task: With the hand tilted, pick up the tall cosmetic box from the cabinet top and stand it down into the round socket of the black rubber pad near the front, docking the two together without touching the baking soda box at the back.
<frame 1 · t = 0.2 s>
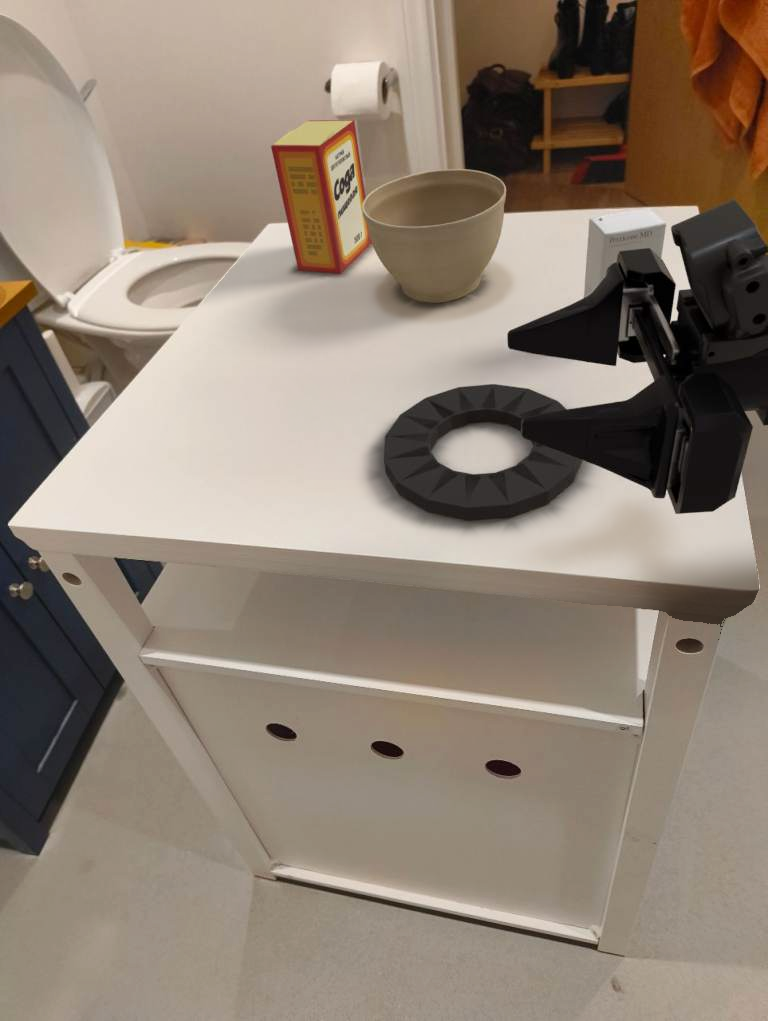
hand: (514, 380, 43), 17 cm above the cabinet top, tool horizontal, fingers open, 9 cm apart
planter bowl: (440, 287, 90), on the cabinet top
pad: (481, 453, 65), on the cabinet top
cosmetic box: (615, 335, 77), on the cabinet top
baking soda box: (336, 257, 100), on the cabinet top
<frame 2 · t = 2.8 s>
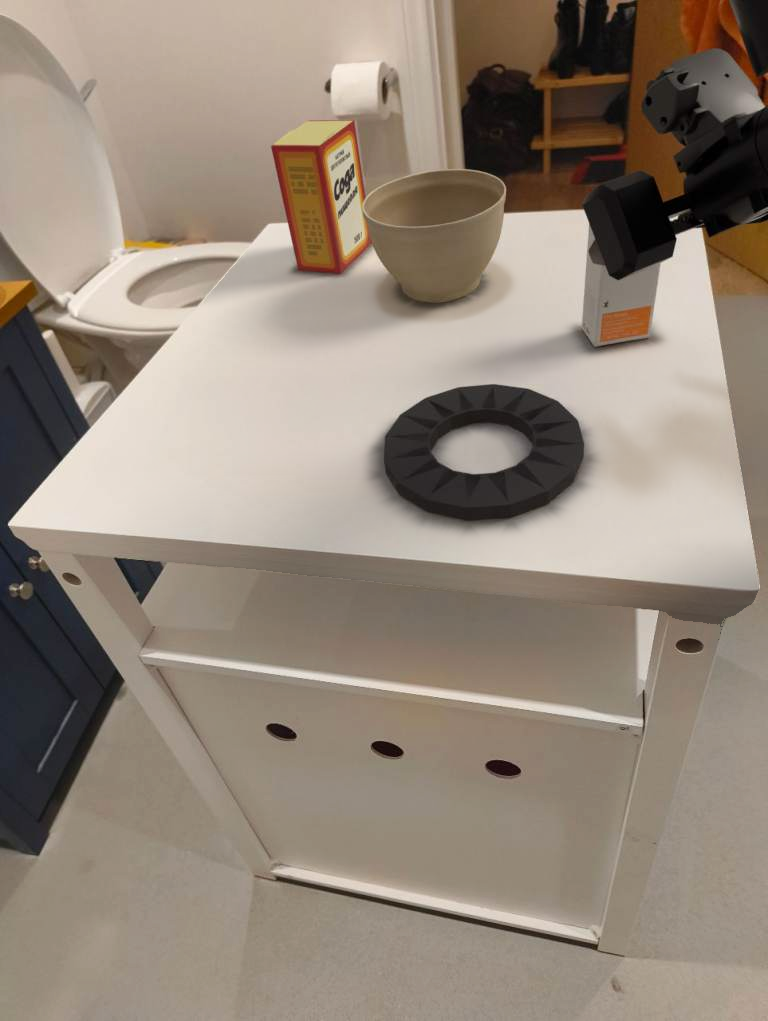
hand: (637, 239, 60), 14 cm above the cabinet top, tool tilted 50°, fingers open, 9 cm apart
nothing on the cabinet top moved.
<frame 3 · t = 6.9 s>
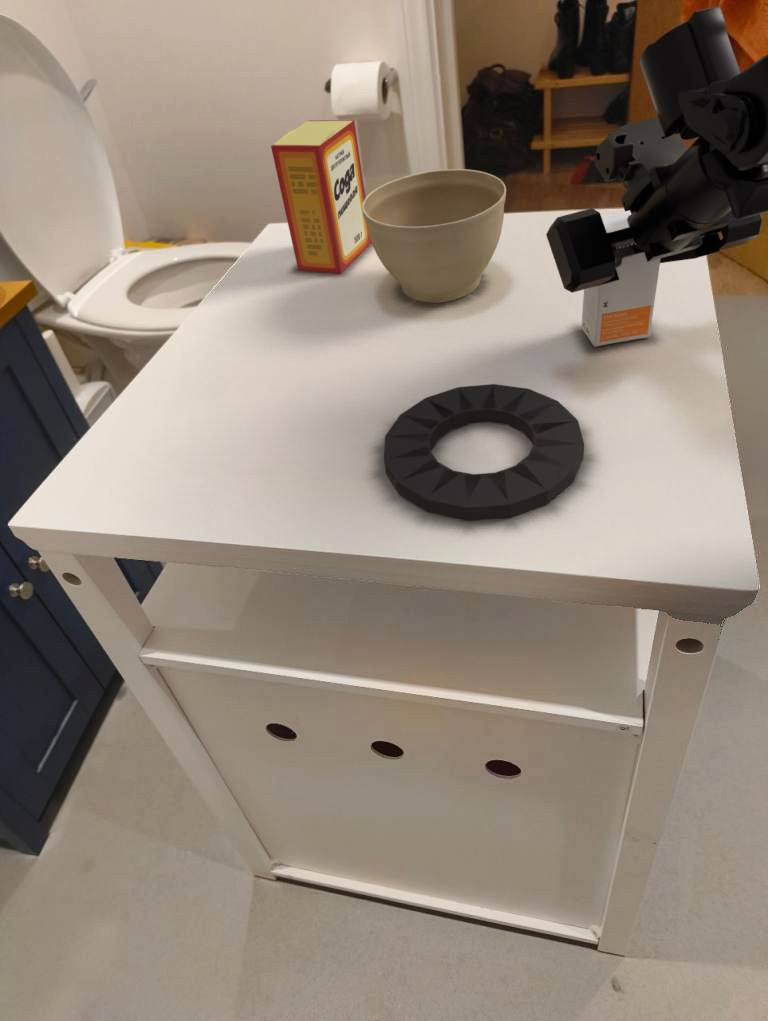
hand: (614, 268, 73), 7 cm above the cabinet top, tool tilted 45°, fingers closed on cosmetic box, 6 cm apart
cosmetic box: (615, 335, 77), on the cabinet top, touching gripper
everything else where it was.
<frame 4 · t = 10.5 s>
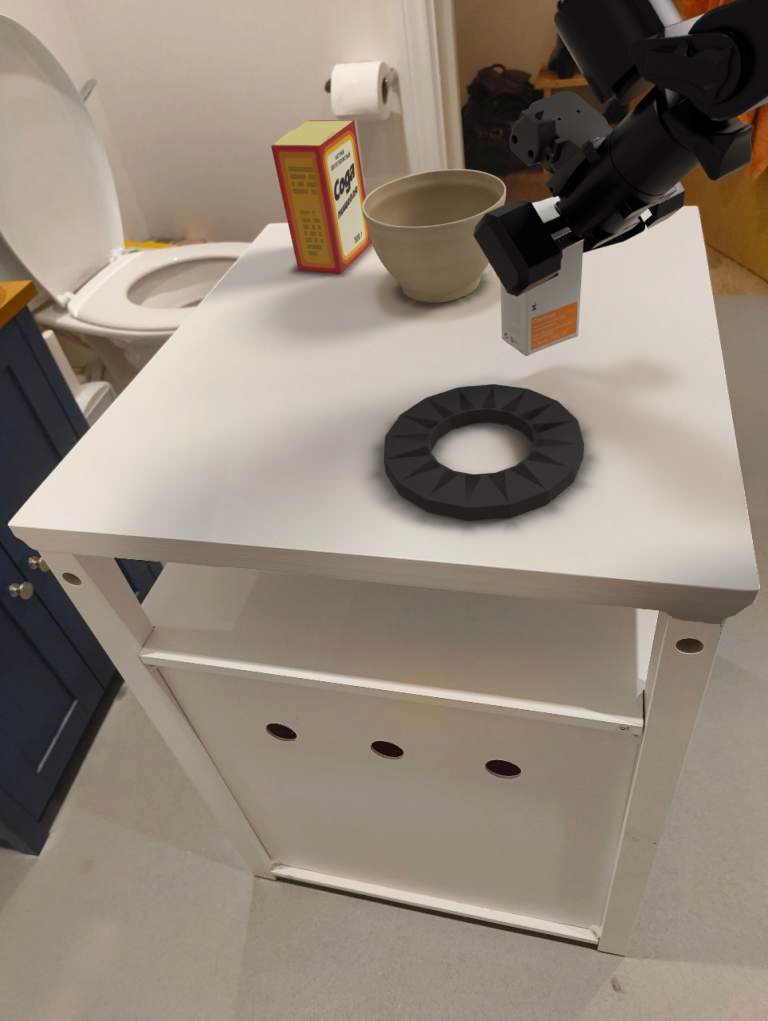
hand: (530, 267, 66), 11 cm above the cabinet top, tool tilted 45°, fingers closed on cosmetic box, 6 cm apart
cosmetic box: (540, 340, 69), point 5 cm above the cabinet top, touching gripper
everything else where it was.
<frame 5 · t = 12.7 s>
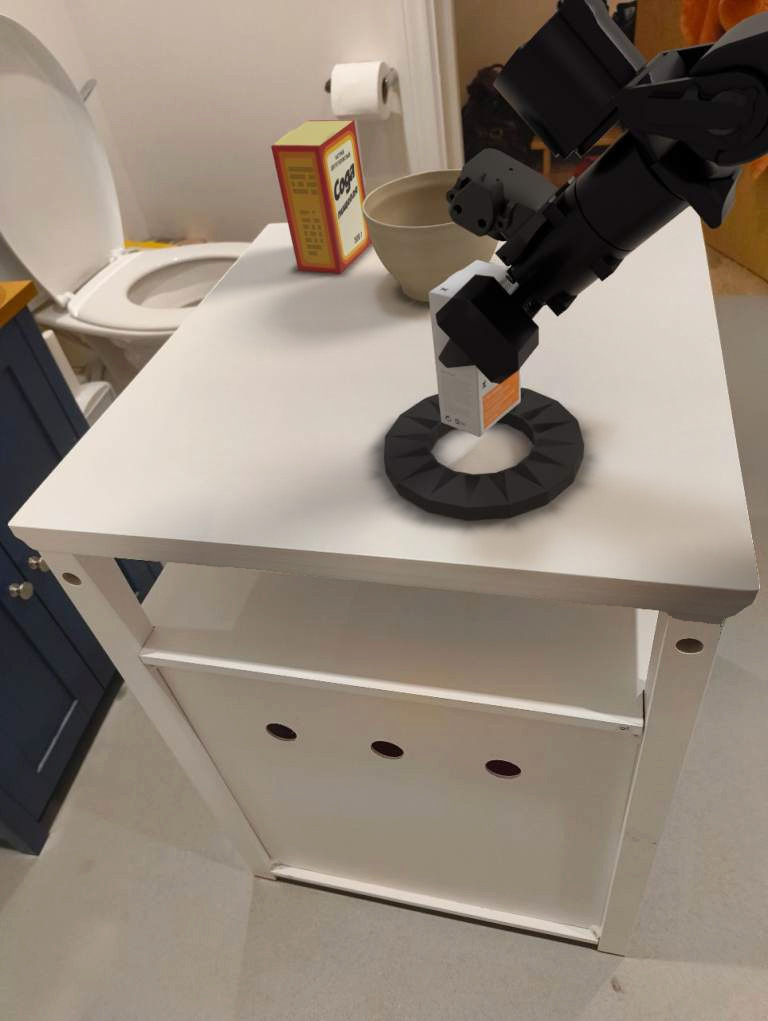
hand: (462, 340, 59), 11 cm above the cabinet top, tool tilted 45°, fingers closed on cosmetic box, 6 cm apart
cosmetic box: (482, 414, 62), point 4 cm above the cabinet top, touching gripper
everything else where it was.
when the fingers open (7 cm above the cabinet top, at t = 14.5 s): cosmetic box stays where it is, resting in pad.
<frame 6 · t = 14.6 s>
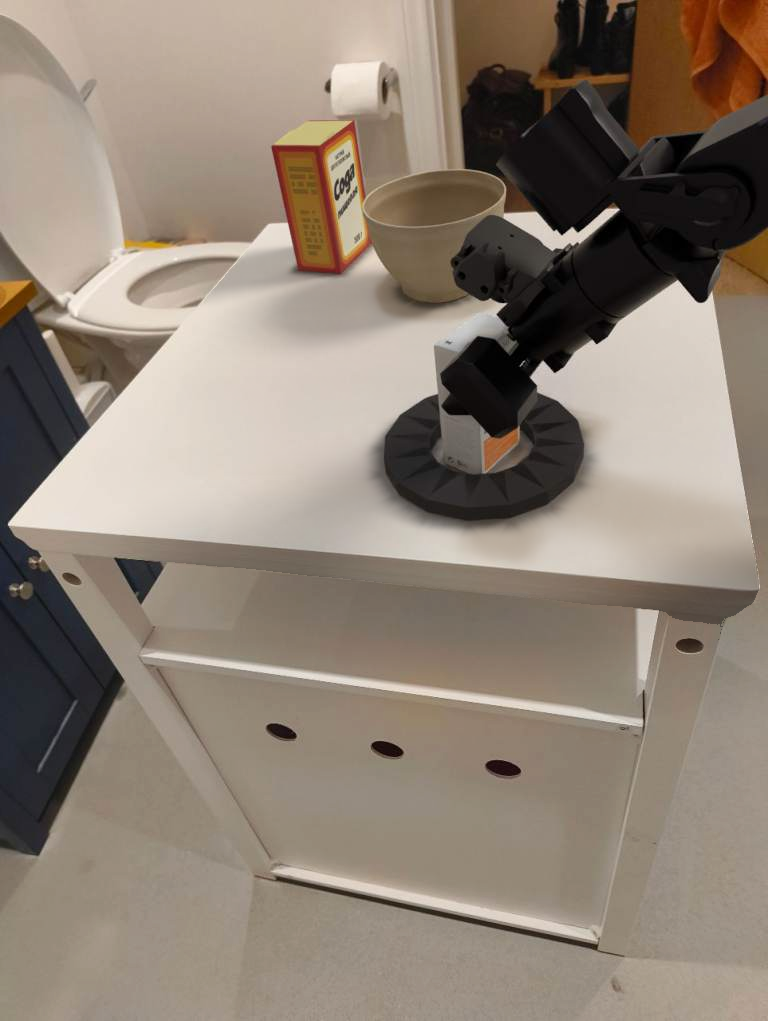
hand: (464, 387, 62), 7 cm above the cabinet top, tool tilted 45°, fingers open, 6 cm apart
cosmetic box: (483, 455, 65), resting in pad
everything else where it was.
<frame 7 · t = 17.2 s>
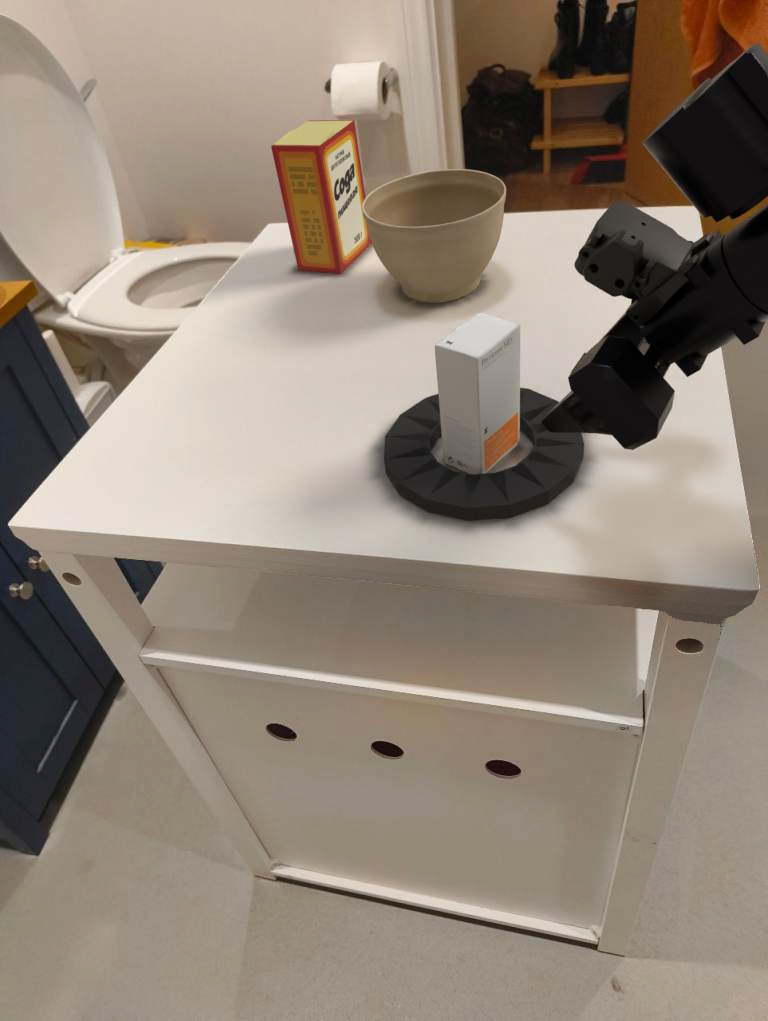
hand: (568, 392, 56), 8 cm above the cabinet top, tool tilted 45°, fingers open, 9 cm apart
nothing on the cabinet top moved.
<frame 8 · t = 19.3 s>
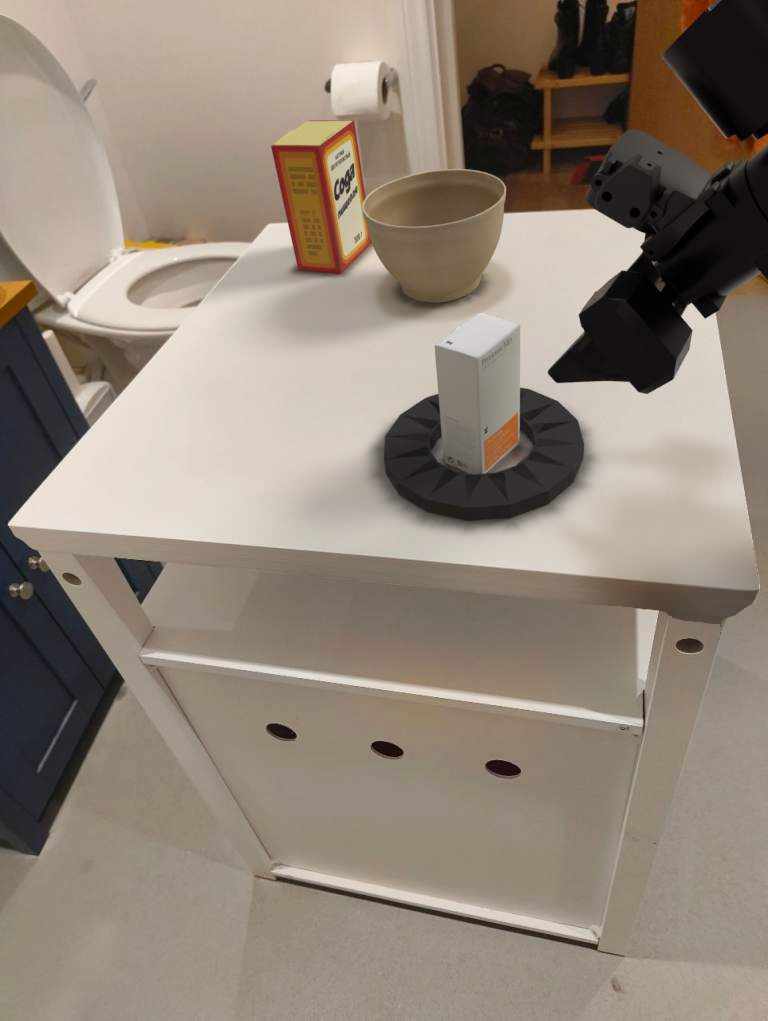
hand: (576, 343, 53), 13 cm above the cabinet top, tool tilted 45°, fingers open, 9 cm apart
nothing on the cabinet top moved.
at the end: cosmetic box 0.1 cm off-centre in the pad, point 0.0 cm above the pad's base; cosmetic box tilted 0°; cosmetic box touching cabinet top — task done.
